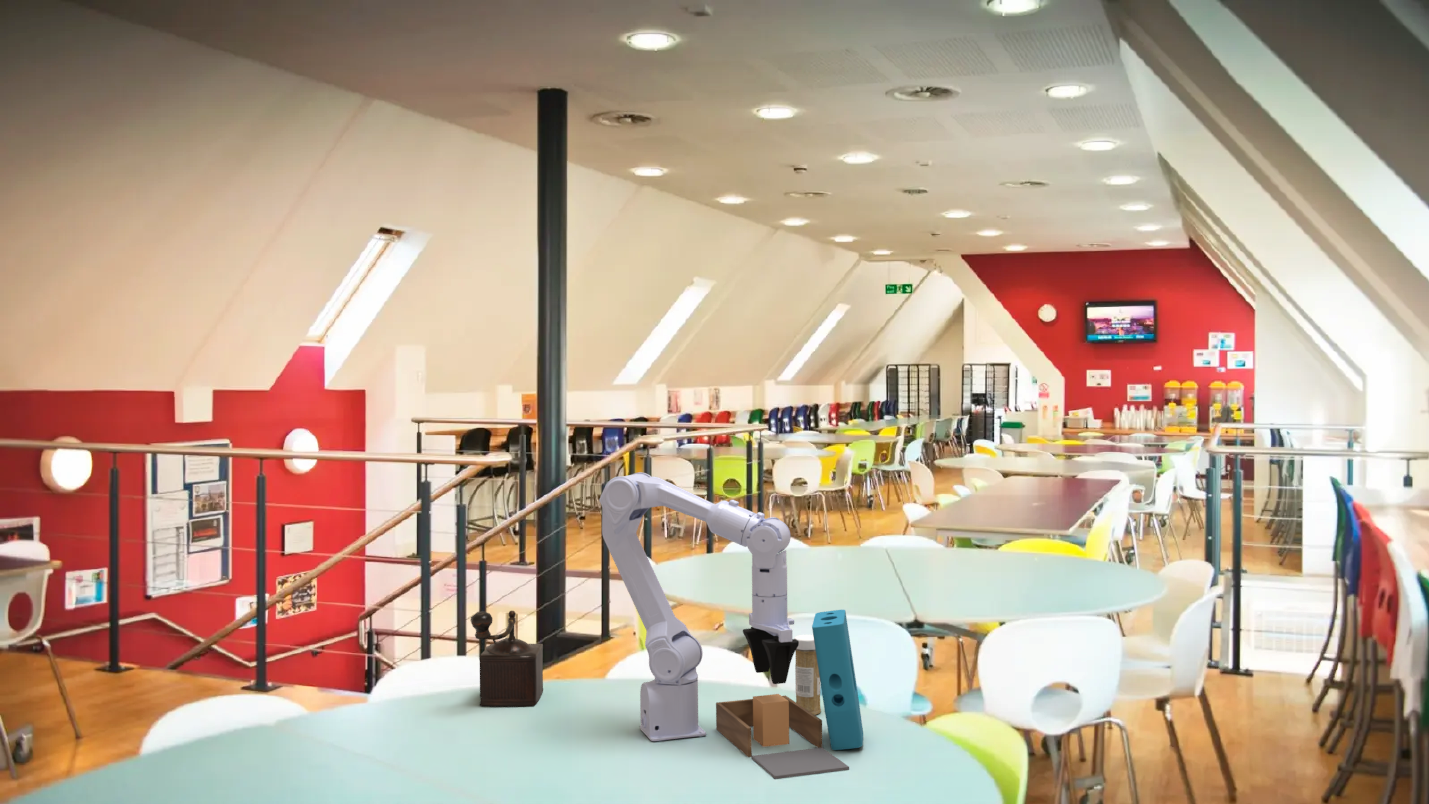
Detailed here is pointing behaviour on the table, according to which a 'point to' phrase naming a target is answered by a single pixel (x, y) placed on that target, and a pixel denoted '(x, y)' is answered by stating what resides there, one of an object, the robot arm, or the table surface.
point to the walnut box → (739, 719)
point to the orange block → (770, 720)
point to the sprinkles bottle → (807, 675)
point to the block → (837, 679)
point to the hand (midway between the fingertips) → (770, 677)
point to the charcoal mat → (799, 762)
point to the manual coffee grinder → (508, 666)
